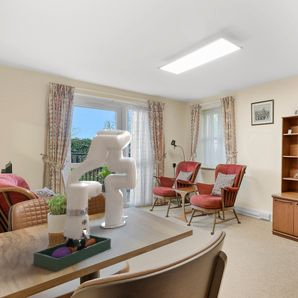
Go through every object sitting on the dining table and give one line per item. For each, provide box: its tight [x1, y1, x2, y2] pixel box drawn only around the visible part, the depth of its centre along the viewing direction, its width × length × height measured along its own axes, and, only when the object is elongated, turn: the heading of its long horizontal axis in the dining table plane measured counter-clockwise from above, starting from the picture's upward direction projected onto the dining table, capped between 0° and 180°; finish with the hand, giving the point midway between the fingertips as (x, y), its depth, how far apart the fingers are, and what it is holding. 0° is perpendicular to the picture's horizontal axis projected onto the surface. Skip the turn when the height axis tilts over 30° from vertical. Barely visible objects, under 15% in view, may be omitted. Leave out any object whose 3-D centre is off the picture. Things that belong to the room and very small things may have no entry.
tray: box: [32, 233, 112, 272], centre depth 100 cm, size 23×14×5 cm, turn 161°
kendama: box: [52, 239, 96, 259], centre depth 100 cm, size 6×6×20 cm
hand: (75, 252), depth 100 cm, fingers open, 6 cm apart
